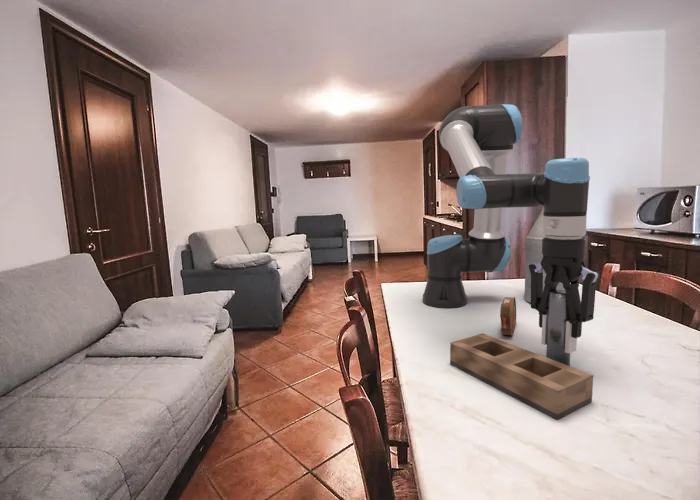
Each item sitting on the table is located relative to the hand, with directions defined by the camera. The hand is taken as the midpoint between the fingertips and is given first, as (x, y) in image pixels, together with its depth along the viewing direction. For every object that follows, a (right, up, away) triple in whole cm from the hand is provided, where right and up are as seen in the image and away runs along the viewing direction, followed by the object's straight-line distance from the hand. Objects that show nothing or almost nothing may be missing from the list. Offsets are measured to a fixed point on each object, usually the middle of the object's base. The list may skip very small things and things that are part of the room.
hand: (558, 346), depth 76 cm
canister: (+23, +3, +48) cm, 53 cm away
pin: (0, -4, +1) cm, 4 cm away
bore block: (-12, -5, -5) cm, 14 cm away
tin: (-1, -2, +23) cm, 23 cm away
